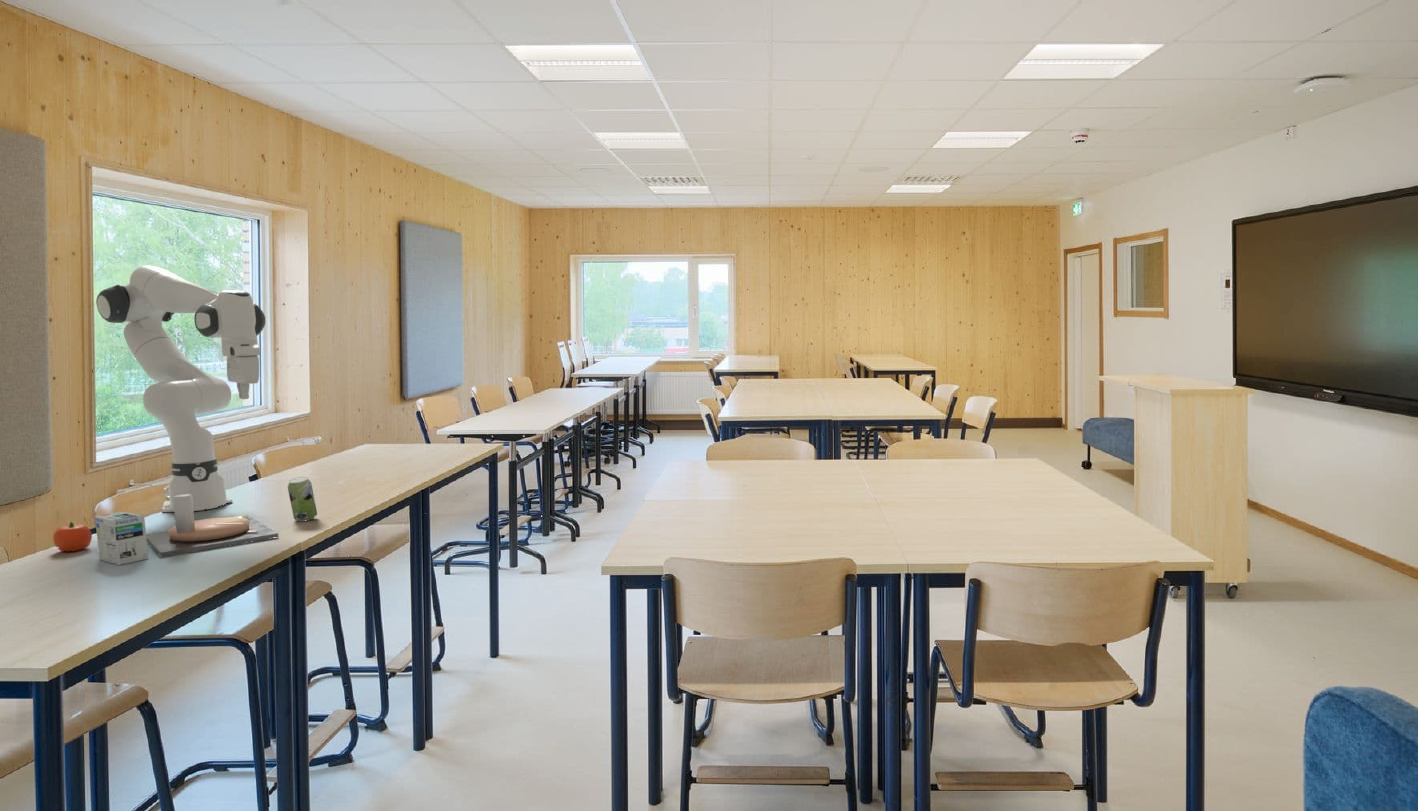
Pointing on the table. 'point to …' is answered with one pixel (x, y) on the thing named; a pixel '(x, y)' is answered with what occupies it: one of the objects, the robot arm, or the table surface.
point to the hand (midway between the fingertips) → (244, 399)
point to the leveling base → (171, 547)
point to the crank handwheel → (202, 523)
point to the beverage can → (302, 499)
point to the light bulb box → (121, 537)
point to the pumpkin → (72, 537)
